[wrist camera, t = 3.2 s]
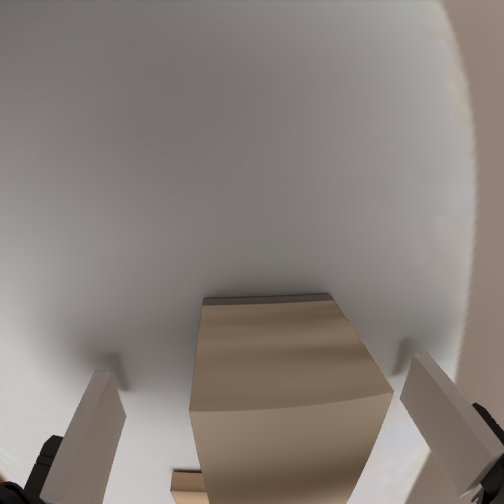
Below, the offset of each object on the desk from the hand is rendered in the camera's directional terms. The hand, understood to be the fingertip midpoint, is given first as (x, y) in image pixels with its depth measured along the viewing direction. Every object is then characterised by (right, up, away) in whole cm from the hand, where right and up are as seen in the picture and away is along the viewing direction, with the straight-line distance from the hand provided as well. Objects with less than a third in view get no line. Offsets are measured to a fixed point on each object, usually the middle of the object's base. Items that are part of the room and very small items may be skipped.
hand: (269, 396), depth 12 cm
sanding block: (0, 0, +1) cm, 1 cm away
